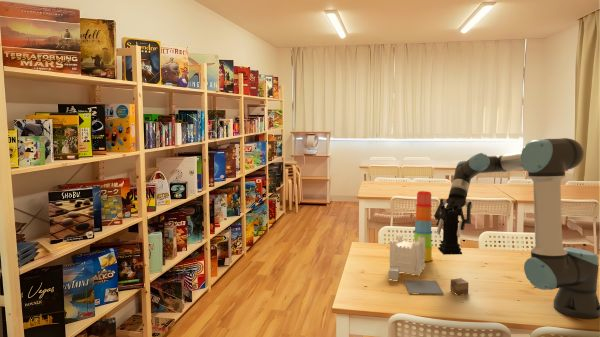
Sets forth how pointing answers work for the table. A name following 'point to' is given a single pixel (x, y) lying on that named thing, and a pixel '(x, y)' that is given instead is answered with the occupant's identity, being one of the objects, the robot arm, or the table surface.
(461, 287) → the walnut cube
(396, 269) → the grey plastic box
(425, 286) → the felt mat
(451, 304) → the table surface
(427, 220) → the stacking cups
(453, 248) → the chess piece
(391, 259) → the castle model
